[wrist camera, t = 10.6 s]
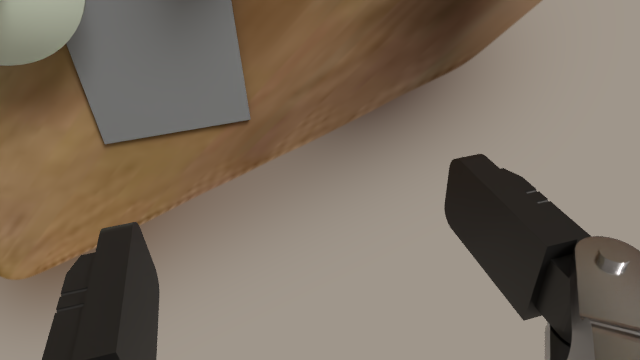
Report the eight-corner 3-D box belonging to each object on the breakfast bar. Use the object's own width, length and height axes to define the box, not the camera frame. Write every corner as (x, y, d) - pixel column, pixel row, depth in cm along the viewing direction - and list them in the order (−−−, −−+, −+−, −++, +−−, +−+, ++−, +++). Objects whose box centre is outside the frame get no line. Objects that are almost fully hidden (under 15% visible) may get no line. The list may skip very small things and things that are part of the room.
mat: (225, -33, 37) (225, -32, 37) (249, 116, 45) (250, 119, 45) (46, -14, 35) (44, -13, 34) (105, 141, 43) (104, 144, 42)
